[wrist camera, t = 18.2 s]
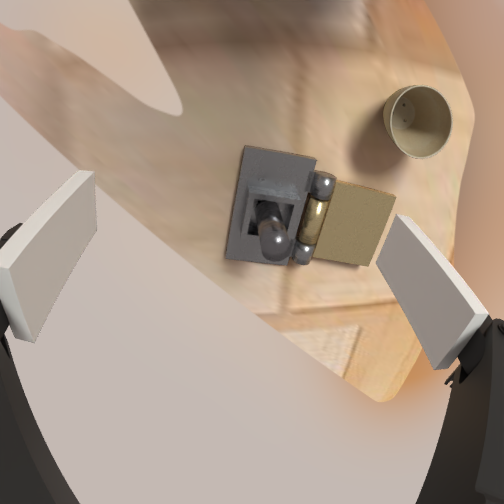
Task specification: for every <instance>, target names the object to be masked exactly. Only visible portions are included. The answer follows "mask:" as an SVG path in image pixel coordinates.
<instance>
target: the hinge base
mask: <svg viewBox="0 0 504 504" xmlns="http://www.w3.org/2000/svg"><path fill="white" fill-rule="evenodd" d="M316 161H317V160H316V159H315V158H313V157H308V156H303V155H298V154H293V153H287V152H282V151H276V150H270V149H265V148H258V147H252V146H246V145H245V148H244V153H243V159H242V164H241V169H240V175H239V180H238V186H237V192H236V197H235V203H234V209H233V214H232V220H231V226H230V232H229V237H228V243H227V249H226V259H234V260H243V261H251V262H260V263H269V264H278V265H287V264H288V261H289V257H290V256H291V257H292V259H293V261H294V262H296V263H298V264H300V265H308V264H309V263H310V261H311V258H312V255H313V252H314V249H315V246H316V244H313V245H308V244H305V243H303V242H301V241H300V240H299V238H298V237H297V236H296V233H297V230H298V226H299V223H300V219H301V215H302V212H303V208H304V205H305V201H306V198H307V194H308V192H309V193H311V195H312V196H314V197H315V198H318V199H321V200H330V198H331V195H332V192H333V189H334V185H335V182H336V177H335V176H334V175H332V174H329V173H326V172H322V171H317V170H314V168H315V164H316ZM264 201H272V202H274V203H276V204H277V205H278V207H279V209H280V212H281V215H282V218H283V222H284V225H285V228H286V231H287V234H288V237H289V240H290V243H291V252H290V254H289V256H288V257H287V258H285V259H284V260H282V261H278V262H273V261H269V260H267V259H266V258H265V257H264V256H263V255H262V251H261V245H260V239H259V233H258V228H257V222H256V216H255V210H256V207H257V206H258V205H259V204H260V203H262V202H264Z"/></svg>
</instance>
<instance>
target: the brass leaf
mask: <svg viewBox="0 0 504 504" xmlns="http://www.w3.org/2000/svg"><path fill="white" fill-rule="evenodd" d="M395 199H396V196H395V195H393V194H390V193H386V192H382V191H378V190H375V189H371V188H367V187H363V186H359V185H355V184H351V183H347V182H343V181H338V180H336V182H335V185H334V189H333V192H332V195H331V198H330V200H329V201H328V200H321V199H318V198H315V197H314V196H312V195H311V196H310V199H309V202H308V206H307V209H306V213H305V216H304V220H303V223H302V227H301V230H300V234H299V237H298V238H299V240H300V241H301V242H303V243H305V244H308V245H313V244H316V246H315V249H314V252H313V255H312V256H313V257H316V258H322V259H327V260H333V261H339V262H345V263H350V264H356V265H362V266H369V264H370V261H371V259H372V257H373V254H374V252H375V250H376V247H377V245H378V243H379V240H380V238H381V235H382V233H383V230H384V228H385V225H386V223H387V220H388V218H389V215H390V213H391V210H392V207H393V205H394V202H395Z"/></svg>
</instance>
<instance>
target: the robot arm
mask: <svg viewBox="0 0 504 504" xmlns="http://www.w3.org/2000/svg"><path fill="white" fill-rule="evenodd" d="M96 231H97V222H96V203H95V171H84V170H78V171H77V172H76V173H75V174H74V175H73V176H71V177H70V178H69V179H68V180H67V181H66V182H65V183H64V184H63V185H62V186H61V187H60V188H58V189H57V190H56V191H55V192H54V193H53V194H52V195H51V196H50V197H49V198H48V199H47V200H46V201H45V202H44V203H43V204H42V205H41V206H40V207H39V208H38V209H37V210H36V211H35V212H34V213H33V214H32V215H31V216H30V217H29V218H28V219H27V220H26V221H25V222H24V223H19V224H17V225H16V226H14V227H13V228H11V229H9V230H8V231H7V232H6V233H5V234H4V235H3V236H2V238H1V240H0V504H80V503H79V502H78V500H77V498H76V497H75V495H74V494H73V492H72V490H71V489H70V487H69V486H68V484H67V482H66V480H65V478H64V477H63V475H62V473H61V471H60V469H59V468H58V466H57V464H56V462H55V460H54V458H53V456H52V455H51V452H50V450H49V448H48V446H47V444H46V442H45V441H44V438H43V436H42V434H41V432H40V429H39V427H38V425H37V423H36V420H35V418H34V416H33V413H32V411H31V408H30V406H29V404H28V401H27V398H26V396H25V393H24V390H23V388H22V385H21V382H20V379H19V377H18V374H17V371H16V368H15V365H14V362H13V358H12V355H11V352H10V348H9V345H8V341H7V339H6V337H5V334H4V333H5V331H6V330H7V328H8V326H9V325H10V327H11V330H12V332H13V335H14V337H15V338H17V339H21V340H24V341H28V342H32V343H35V341H36V339H37V337H38V335H39V333H40V331H41V329H42V327H43V324H44V322H45V320H46V318H47V316H48V314H49V312H50V311H51V309H52V307H53V305H54V303H55V301H56V299H57V297H58V295H59V294H60V292H61V290H62V288H63V286H64V284H65V283H66V281H67V279H68V277H69V275H70V274H71V272H72V270H73V269H74V267H75V265H76V263H77V262H78V260H79V258H80V257H81V255H82V253H83V252H84V250H85V248H86V247H87V245H88V243H89V242H90V240H91V239H92V237H93V236H94V234H95V232H96ZM376 265H377V266H378V268H379V270H380V271H381V273H382V275H383V276H384V278H385V280H386V282H387V283H388V285H389V287H390V288H391V290H392V292H393V294H394V295H395V297H396V299H397V301H398V302H399V304H400V306H401V308H402V310H403V311H404V313H405V315H406V317H407V319H408V321H409V322H410V324H411V326H412V328H413V330H414V332H415V334H416V336H417V337H418V339H419V341H420V343H421V345H422V347H423V349H424V351H425V353H426V355H427V357H428V359H429V361H430V363H431V365H432V367H433V369H434V370H439V369H447V368H449V367H450V365H451V364H452V363H453V362H454V360H455V359H456V358H457V357H458V359H459V361H460V365H459V366H458V367H457V368H456V370H455V371H454V372H453V373H452V374H451V375H450V376H449V378H448V379H447V380H446V381H445V384H446V385H447V384H448V383H449V382H450V381H453V383H452V384H451V385H450V387H451V388H452V390H451V394H450V398H449V403H448V407H447V411H446V415H445V419H444V422H443V426H442V430H441V433H440V437H439V440H438V443H437V447H436V450H435V453H434V456H433V459H432V462H431V465H430V468H429V471H428V473H427V476H426V479H425V482H424V484H423V487H422V489H421V492H420V494H419V497H418V499H417V502H416V504H504V321H503V320H501V319H494V320H492V319H491V317H490V316H489V313H488V312H487V310H486V309H485V308H484V306H483V305H482V304H481V302H480V301H479V299H478V298H477V297H476V295H475V294H474V293H473V292H472V290H471V289H470V288H469V286H468V285H467V284H466V282H465V281H464V280H463V279H462V277H461V276H460V275H459V274H458V272H457V271H456V270H455V269H454V268H453V266H452V265H451V264H450V263H449V261H448V260H447V259H446V258H445V257H444V255H443V254H442V253H441V252H440V251H439V250H438V248H437V247H436V246H435V245H434V244H433V243H432V242H431V240H430V239H429V238H428V237H427V236H426V235H425V234H424V232H423V231H422V230H421V229H420V228H419V227H418V226H417V225H416V224H415V223H414V222H413V220H412V219H411V218H410V217H408V216H403V215H399V214H396V216H395V218H394V221H393V223H392V226H391V228H390V231H389V233H388V235H387V238H386V240H385V243H384V245H383V247H382V250H381V252H380V254H379V257H378V259H377V261H376Z"/></svg>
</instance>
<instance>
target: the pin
mask: <svg viewBox="0 0 504 504" xmlns="http://www.w3.org/2000/svg"><path fill="white" fill-rule="evenodd" d="M255 216H256V222H257V228H258V233H259V239H260V245H261V251H262V255H263V256H264V257H265V258H266V259H267V260H269V261H273V262H278V261H282V260H284V259H285V258H287V257H288V256H289V254H290V252H291V243H290V240H289V237H288V234H287V231H286V228H285V225H284V222H283V218H282V215H281V212H280V209H279V207H278V205H277V204H276V203H274V202H272V201H264V202H262V203H260V204H259V205H258V206H257V207H256V210H255Z"/></svg>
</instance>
